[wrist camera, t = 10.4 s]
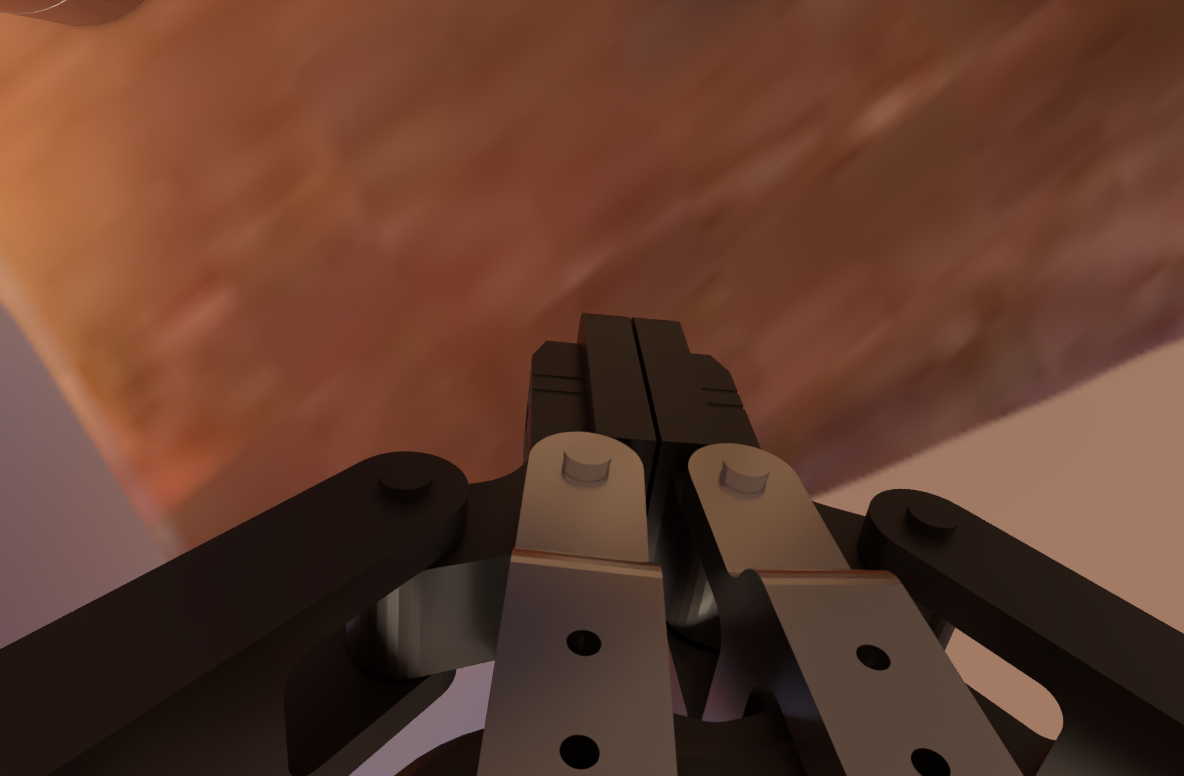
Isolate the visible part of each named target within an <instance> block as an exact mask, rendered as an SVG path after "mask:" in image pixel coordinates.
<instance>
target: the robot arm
mask: <svg viewBox="0 0 1184 776" xmlns="http://www.w3.org/2000/svg"><path fill="white" fill-rule="evenodd" d="M142 1H143V0H0V12H2V13H8V14H13V15H19V16H24V17H30V18H35V19H41V20H46V21H52V22H57V23H63V24H68V25H74V26H90V25H100V24H103V23H106V22H110V21H113V20H117V19H118V18H120V17H122V16H123V15H125V14H127V13H128V12H130V11H132V10H133V9H135V8H136V7H137V6H138V5H139V4H140V3H141V2H142ZM955 627H956V628H957V629H959V630H960V631H962V632H963V633H965V634H966V635H968V636H969V637H971V638H972V639H974V640H975V641H977V642H978V643H980V644H981V645H983V646H984V647H986V648H987V649H989V650H990V651H992V652H993V653H995V654H996V655H998V656H999V657H1001V658H1002V659H1004V660H1005V661H1007V662H1008V663H1010V664H1011V665H1013V666H1014V667H1016V668H1017V669H1019V670H1020V671H1022V672H1023V673H1025V674H1026V675H1028V676H1029V677H1031V678H1032V679H1034V680H1035V681H1037V682H1038V683H1040V684H1041V685H1042V686H1044V687H1045V688H1046V689H1047V690H1048V691H1049V692H1050V693H1051V694H1052V695H1053V696H1054V698H1055V699H1056V701H1057V702H1058V704H1059V706H1060V708H1061V711H1062V715H1063V728H1062V730H1061V733H1060V734H1059V736H1058V738H1057V739H1056V740H1051V739H1048V738H1045V737H1043V736H1040V735H1039V734H1037V733H1035V732H1034V731H1032V730H1031V729H1029V728H1028V727H1027V726H1025V725H1024V724H1023V723H1021V722H1019V721H1018V720H1017V719H1015V718H1014V717H1013V716H1011V715H1010V714H1008V713H1007V712H1005V711H1004V710H1003V709H1001V708H1000V707H998V706H997V705H996V704H994V703H993V702H991V701H990V700H988V699H987V698H986V697H984V696H983V695H981V694H980V693H978V692H977V691H975V690H974V689H973V688H971V687H970V686H969V685H967V684H966V683H965V682H964V681H963V679H962V678H961V676H960V675H959V673H958V672H957V670H956V668H955V667H954V665H953V664H952V662H951V660H950V659H949V657H948V656H947V654H946V652H945V649H946V647H947V645H948V642H949V640H950V638H951V636H952V633H953V631H954V629H955ZM494 660H495V663H494V669H493V676H492V682H491V688H490V696H489V701H488V708H487V714H486V721H485V727H484V729H481V730H478V731H475V732H472V733H468V734H465V735H462V736H460V737H457V738H455V739H453V740H451V741H449V742H446V743H444V744H441V745H439V746H438V747H436V748H434V749H433V750H431V751H429V752H427V753H426V754H424V755H422V756H421V757H419V758H417V759H416V760H415V761H413V762H412V763H410V764H409V765H408V766H406V767H405V768H404V769H402V770H401V771H400V772H398V773H397V774H396V775H395V776H1184V634H1183V633H1181V632H1180V631H1178V630H1176V629H1174V628H1173V627H1171V626H1169V625H1167V624H1165V623H1164V622H1162V621H1160V620H1158V619H1157V618H1155V617H1153V616H1151V615H1149V614H1148V613H1146V612H1144V611H1143V610H1141V609H1139V608H1137V607H1136V606H1134V605H1132V604H1130V603H1129V602H1127V601H1125V600H1123V599H1122V598H1120V597H1118V596H1116V595H1115V594H1112V593H1111V592H1109V591H1107V590H1106V589H1104V588H1102V587H1101V586H1099V585H1097V584H1095V583H1093V582H1092V581H1090V580H1088V579H1086V578H1085V577H1083V576H1081V575H1079V574H1078V573H1076V572H1074V571H1072V570H1071V569H1069V568H1067V567H1065V566H1064V565H1062V564H1060V563H1058V562H1056V561H1055V560H1053V559H1051V558H1050V557H1048V556H1046V555H1044V554H1043V553H1041V552H1039V551H1037V550H1036V549H1034V548H1032V547H1030V546H1028V545H1027V544H1025V543H1023V542H1021V541H1020V540H1018V539H1016V538H1014V537H1013V536H1011V535H1009V534H1007V533H1006V532H1004V531H1002V530H1000V529H999V528H997V527H995V526H993V525H992V524H990V523H988V522H986V521H985V520H983V519H981V518H979V517H978V516H976V515H974V514H972V513H971V512H969V511H967V510H965V509H964V508H962V507H960V506H958V505H956V504H954V503H952V502H950V501H949V500H946V499H944V498H941V497H939V496H936V495H933V494H930V493H926V492H922V491H918V490H910V489H892V490H887V491H884V492H881V493H879V494H877V495H876V496H875V497H874V498H873V499H872V500H871V502H870V505H869V508H868V511H867V514H866V516H862V515H858V514H855V513H851V512H847V511H844V510H840V509H836V508H833V507H829V506H826V505H822V504H819V503H816V502H814V501H812V500H811V498H810V497H809V495H808V493H807V491H806V490H805V488H804V486H803V484H802V483H801V481H800V479H799V477H798V476H797V474H796V473H795V472H794V470H793V469H792V468H791V467H790V466H789V465H788V464H786V463H785V462H784V461H783V460H781V459H779V458H778V457H776V456H774V455H772V454H770V453H768V452H766V451H763V450H761V448H760V446H759V443H758V441H757V438H756V436H755V433H754V431H753V428H752V426H751V423H750V421H749V418H748V416H747V414H746V411H745V410H743V404H742V401H741V399H740V396H739V394H737V389H736V386H735V384H734V381H733V379H732V377H731V374H730V372H729V371H728V370H727V369H725V368H724V367H723V366H722V365H721V364H720V363H718V362H717V361H716V360H715V359H714V358H713V357H712V356H710V355H703V354H691V353H690V351H689V348H688V345H687V342H686V339H685V336H684V333H683V330H682V327H681V325H680V323H679V322H677V321H667V320H656V319H645V318H634V317H632V318H631V320H630V318H629V317H622V316H611V315H600V314H589V313H582V315H581V318H580V324H579V330H578V338H577V344H576V343H565V342H554V341H546V342H545V343H544V344H543V345H542V346H541V347H540V348H539V349H538V350H537V351H536V352H535V353H534V354H533V355H532V363H531V373H530V383H529V393H528V402H527V412H526V422H525V432H524V445H523V465H522V466H521V467H520V468H518V469H517V470H516V471H514V472H512V473H511V474H508V475H506V476H504V477H501V478H498V479H495V480H491V481H486V482H480V483H473V484H468V481H467V478H466V476H465V475H464V474H463V472H462V471H461V470H460V469H459V468H458V467H457V466H455V465H454V464H452V463H451V462H449V461H447V460H445V459H443V458H440V457H437V456H434V455H431V454H426V453H421V452H404V451H401V452H390V453H385V454H380V455H376V456H373V457H370V458H368V459H365V460H363V461H361V462H359V463H357V464H355V465H353V466H351V467H350V468H348V469H346V470H344V471H342V472H340V473H338V474H336V475H334V476H332V477H330V478H328V479H326V480H325V481H323V482H321V483H319V484H317V485H315V486H313V487H311V488H309V489H307V490H305V491H303V492H301V493H300V494H298V495H296V496H294V497H292V498H290V499H288V500H286V501H284V502H282V503H280V504H278V505H276V506H275V507H273V508H271V509H269V510H267V511H265V512H263V513H261V514H259V515H257V516H255V517H253V518H251V519H250V520H248V521H246V522H244V523H242V524H240V525H238V526H236V527H234V528H232V529H230V530H228V531H227V532H225V533H223V534H221V535H219V536H217V537H215V538H213V539H211V540H209V541H207V542H205V543H203V544H202V545H200V546H198V547H196V548H194V549H192V550H190V551H188V552H186V553H184V554H182V555H180V556H178V557H177V558H175V559H173V560H171V561H169V562H167V563H165V564H163V565H161V566H159V567H158V568H155V569H153V570H152V571H150V572H148V573H146V574H144V575H142V576H140V577H138V578H136V579H134V580H132V581H130V582H129V583H127V584H125V585H123V586H121V587H119V588H117V589H115V590H113V591H111V592H109V593H107V594H105V595H103V596H102V597H100V598H98V599H96V600H94V601H92V602H90V603H88V604H86V605H84V606H82V607H80V608H78V609H77V610H75V611H73V612H71V613H69V614H67V615H65V616H63V617H61V618H59V619H57V620H55V621H54V622H52V623H50V624H48V625H46V626H44V627H42V628H40V629H38V630H36V631H34V632H32V633H30V634H28V635H27V636H25V637H23V638H21V639H19V640H17V641H15V642H13V643H11V644H9V645H7V646H5V647H4V648H2V649H0V776H349V775H350V774H351V773H352V772H353V771H355V770H356V769H357V768H358V767H359V766H360V765H361V764H362V763H364V762H365V761H366V760H367V759H368V758H370V757H371V756H372V755H373V754H374V753H375V752H377V751H378V750H379V749H380V748H381V747H382V746H383V745H385V743H387V742H388V741H389V740H390V739H392V738H393V737H394V736H395V735H396V734H397V733H399V732H400V731H401V730H402V729H403V728H404V727H405V726H407V725H408V724H409V723H410V722H411V721H412V720H413V719H415V718H416V717H417V716H418V715H419V714H420V713H421V712H423V711H424V710H425V709H426V708H427V707H428V706H430V705H431V704H432V703H433V702H434V701H436V700H437V699H438V698H439V697H440V696H441V695H442V694H443V693H444V692H445V691H446V690H447V689H448V688H449V686H450V685H451V684H452V682H453V680H454V677H455V675H456V669H458V668H463V667H467V666H471V665H476V664H480V663H485V662H489V661H494Z"/></svg>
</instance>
